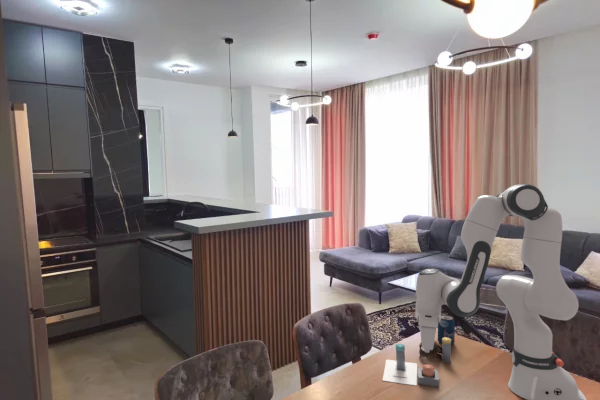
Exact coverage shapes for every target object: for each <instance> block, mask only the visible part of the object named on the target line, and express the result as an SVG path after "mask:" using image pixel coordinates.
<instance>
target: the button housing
mask: <svg viewBox="0 0 600 400" xmlns="http://www.w3.org/2000/svg"><path fill="white" fill-rule="evenodd" d="M417 384H418V385H423V386H431V387H438V388H439V387H440V377H439V370H438V369H434V378H433V377H426V376H423V367H417Z"/></svg>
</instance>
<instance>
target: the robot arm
mask: <svg viewBox="0 0 600 400" xmlns="http://www.w3.org/2000/svg"><path fill="white" fill-rule="evenodd" d="M507 217H514V218H515V217H517V218H521V219H522V221H523V225H524V227H523V228H524V230H523V237H522V244H521V250H520V251H521V252H520V260H521V261H522V263H523V264H524V266H526V267H527V268H529V270H530V271H531V274H532V277H533V278H529V277H526V276H523V275H514V274H505V275H503V276H501V277H500V278H499V280H498V281H497V282H496V287H495V289H496V295H497V297H498V298H499V300H501V301H502V303H503V304H504V305H505V307H506V309H507V310H508V312H509V315H510V317H511V320H512V324H513V329H514V330H513V332H514V337H513V339H514V343H513V344H514V345H513V346H512V353H511V357H512V358H511V361H512V369H511V374H510V378H509V380H508V383H507V386H508V389H509V390H510V391H511V392H513V393H514V394H515V395H517V396H519V397H520V398H523V399H525V400H587V398H586V396H585V394H584V393H583V392H582V390H581V389H579V387H578V383H577V381H576V379H575V378H574V377H573V375H571V374H570V373H569V371H567V370H565V368H563V367H564V366H565V363H564V362H563V360H562V359H561V358H559V356H558V355H557V354H555V352H553V333H552V330H551V327H549V326H548V324H546V323H545V322H544V320H542V318H541V317H540V316H542V317H546V318H548V319H552V320H559V321H569V320H571V319H573V318H574V317H575V316H576V315H577V313H578V311H579V299H578V297H577V295H576V294H575V292H573V290H572V289H571V288H569V286H568V285H567V283H566V281H565V279H564V277H563V274H562V271H561V266H560V265H561V263H560V260H561V250H562V248H561V247H562V241H563V219H562V214H561V213H560V212H559V211H558V210H556V209H555V208H552V207H549V206H548V203H547V201H546V200H545V197H544V195H543V193H542V191H541V190H540V188H538V187H537V186H535V185H533V184H530V183H521V184H520V183H519V184H515V185H511V186H510V187H507V188H506V189H504V190H503V191H501V192H500V193H499V194H498V195H495V196H494V195H490V194H484V195H479V196H478V197H477V198H476V200H475V201H474V203H473V204H472V206H471V208H470V210H469V211H468V213H467V215H466V217H465V220H464V221H463V222H464V223H463V225H462V229H461V233H460V239H461V242H462V244H463V246H464V248H465V250H466V255H467V256H466V257H467V258H466V264H465V267H464V269H463V273H462V275H461V279H458V278H455V277H451V276H449V275H447V274H445V273H443V272H442V271H441V270H440V269H437V268H426V269H422V270H421V271H419V273H418V275H417V277H416V287H415V296H416V300H415V306H414V307H415V315H414V317H415V319H416V320H417V324H418V326H419V331H420V341H421V342H420V343H421V344H422V347H421V349H422V350H424V352H427V353H429V352H430V350H433V347H434V341H436V334H437V329H438V323H439V322H440V321H441V315H442V306H443V305H446V306H447V307H448V308H449V310H450V312H451V313H452V314H454V315H455V316H456V317H460V318H466V317H470V316H473V315H474V314H475V313H476V312H477V311H478V310H479V308H480V306H481V305H480V304H481V287H482V285H483V281H484V277H486V276H485V275H486V273H487V268H488V266H489V262H490V258H491V253H492V249H493V248H492V247H493V245H494V242H495V239H496V236H497V234H498V231H499V229H500V227H501V224H502V222H503V221H504V219H505V218H507Z"/></svg>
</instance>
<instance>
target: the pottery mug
mask: <svg viewBox="0 0 600 400" xmlns="http://www.w3.org/2000/svg"><path fill="white" fill-rule="evenodd" d="M418 354H419V357H420V358H422V357H423V358H431V357H435V358H436V357H437V354H440V355H442V345H441V344H440V343H439V342H438V341H436V340H435V341H434V347H433V350H430V352H429V353H427V352H424V349H423V348H422V344H421V342H420V343H419V352H418Z"/></svg>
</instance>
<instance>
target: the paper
mask: <svg viewBox="0 0 600 400" xmlns="http://www.w3.org/2000/svg"><path fill="white" fill-rule="evenodd" d="M384 365H385V366H384V371H383V376H382V382H389V383H393V384H394V383H395V384H402V385H408V386H413V387H414V386H415V387H416V386H417V384H418V363H416V362H410V361H409V362H408V361H405V370H398V369H397V362H396V360H395V359H394V360H393V359H386V360H385V364H384Z"/></svg>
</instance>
